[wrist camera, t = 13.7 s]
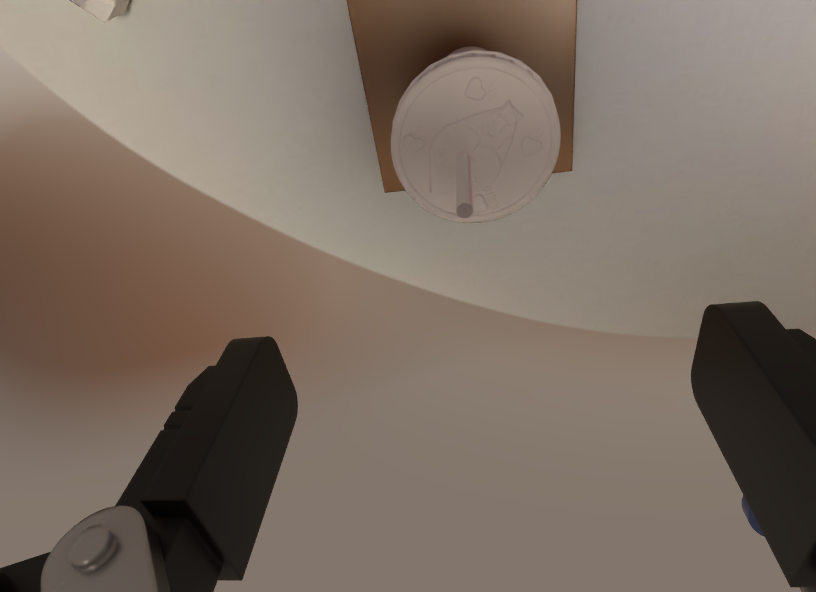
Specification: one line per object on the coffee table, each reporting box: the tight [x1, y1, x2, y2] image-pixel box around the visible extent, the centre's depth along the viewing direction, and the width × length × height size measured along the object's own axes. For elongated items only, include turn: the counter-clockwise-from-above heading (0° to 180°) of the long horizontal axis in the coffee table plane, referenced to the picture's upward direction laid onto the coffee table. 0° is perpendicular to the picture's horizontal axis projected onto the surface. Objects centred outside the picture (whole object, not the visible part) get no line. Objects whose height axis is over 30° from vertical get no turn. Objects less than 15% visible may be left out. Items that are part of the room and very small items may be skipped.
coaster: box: [347, 0, 577, 193], centre depth 27 cm, size 11×11×1 cm
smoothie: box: [391, 46, 561, 223], centre depth 21 cm, size 6×6×14 cm
